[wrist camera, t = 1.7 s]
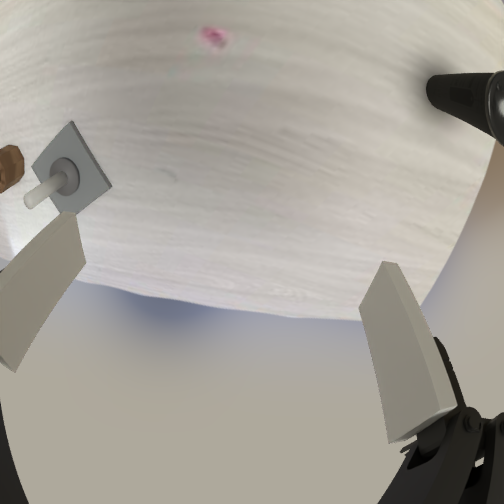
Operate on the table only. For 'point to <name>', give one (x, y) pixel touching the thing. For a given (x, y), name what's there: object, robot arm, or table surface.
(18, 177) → the brown faceted ring
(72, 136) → the grey peg stand
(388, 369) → the robot arm
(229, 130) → the table surface
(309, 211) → the table surface
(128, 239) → the table surface
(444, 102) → the drinking cup
